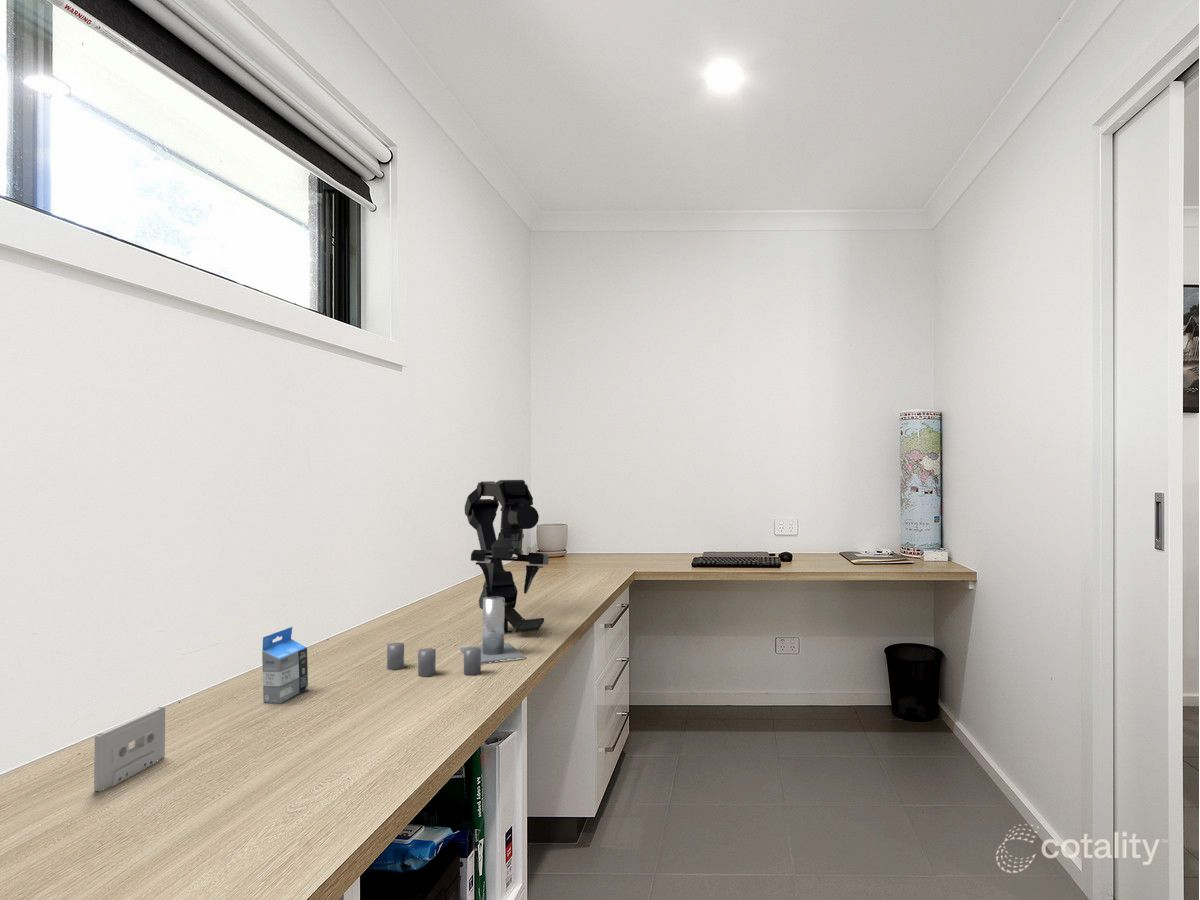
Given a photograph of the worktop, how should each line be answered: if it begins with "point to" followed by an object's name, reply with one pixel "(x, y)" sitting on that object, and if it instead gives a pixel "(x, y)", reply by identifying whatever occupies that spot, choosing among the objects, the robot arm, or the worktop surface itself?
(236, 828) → the worktop surface
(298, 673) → the label tape box
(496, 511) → the robot arm
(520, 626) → the handheld gaming console
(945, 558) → the worktop surface
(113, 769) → the cassette
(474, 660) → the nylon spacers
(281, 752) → the worktop surface
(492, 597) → the ball
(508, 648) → the rubber mat
